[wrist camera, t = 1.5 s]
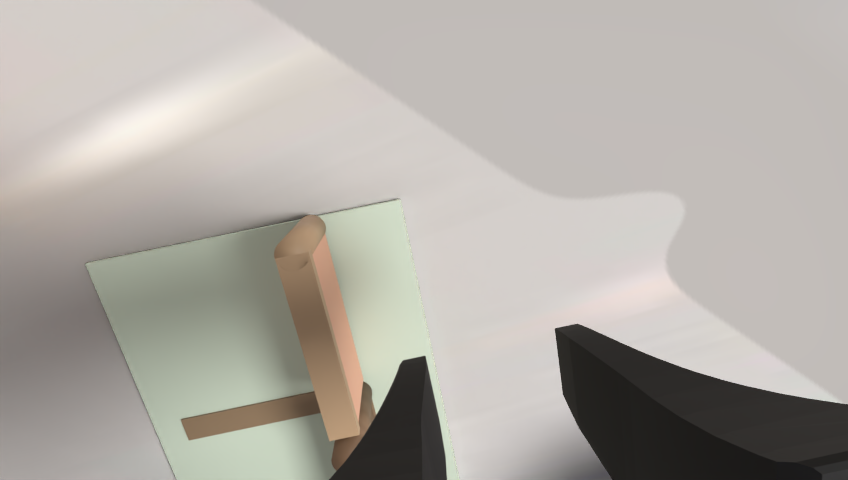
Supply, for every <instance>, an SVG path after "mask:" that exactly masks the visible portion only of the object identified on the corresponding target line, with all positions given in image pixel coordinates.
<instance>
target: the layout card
mask: <svg viewBox="0 0 848 480" xmlns="http://www.w3.org/2000/svg"><path fill="white" fill-rule="evenodd" d="M317 216H318V217H320V218H321V219H322V220H323V221H324V223H325V225H326V232H325V234H326V238H327V242H328V246H329V250H330V253H331V257H332V261H333V265H334V269H335V272H336V276H337V280H338V284H339V288H340V291H341V295H342V299H343V303H344V307H345V310H346V314H347V318H348V322H349V326H350V329H351V333H352V337H353V341H354V345H355V348H356V352H357V356H358V360H359V364H360V367H361V371H362V375H363V381H364V382H366V383H367V384H369V385H370V387H371V389H372V404H371V406H372V410H373V414H374V417H375V416H376V415H377V413H378V411H379V409H380V407H381V406H382V404H383V402H384V400H385V398H386V396H387V394H388V392H389V390H390V387H391V385H392V383H393V381H394V378H395V376H396V374H397V371H398V368H399V365H400V364H401V362H402V361H403V360H407V359H411V358H416V357H421V356H426V360H427V365H428V370H429V374H430V379H431V384H432V388H433V393H434V397H435V402H436V407H437V411H438V416H439V421H440V426H441V432H442V438H443V444H444V450H445V456H446V471H447V480H459V475H458V471H457V466H456V461H455V456H454V452H453V447H452V442H451V437H450V433H449V428H448V423H447V418H446V414H445V409H444V404H443V399H442V395H441V390H440V385H439V380H438V376H437V371H436V366H435V361H434V357H433V352H432V347H431V342H430V338H429V333H428V328H427V323H426V319H425V314H424V309H423V304H422V300H421V295H420V290H419V285H418V281H417V276H416V271H415V266H414V262H413V257H412V252H411V248H410V243H409V238H408V233H407V229H406V224H405V219H404V214H403V210H402V205H401V200H400V199H396V200H391V201H386V202H381V203H376V204H372V205H367V206H362V207H357V208H352V209H347V210H342V211H337V212H332V213H327V214H322V215H317ZM300 220H301V219H298V220H293V221H288V222H283V223H278V224H273V225H268V226H263V227H259V228H254V229H249V230H244V231H239V232H234V233H229V234H224V235H219V236H214V237H209V238H205V239H200V240H195V241H190V242H185V243H180V244H175V245H170V246H165V247H160V248H155V249H151V250H146V251H141V252H136V253H131V254H126V255H121V256H116V257H111V258H106V259H101V260H96V261H92V262H88V263H86V264H85V265H86V268H87V270H88V272H89V275H90V277H91V279H92V282H93V284H94V286H95V289H96V291H97V294H98V296H99V298H100V301H101V303H102V305H103V308H104V310H105V312H106V315H107V317H108V320H109V322H110V324H111V327H112V329H113V331H114V334H115V336H116V338H117V341H118V343H119V345H120V348H121V350H122V353H123V355H124V357H125V360H126V362H127V364H128V367H129V369H130V371H131V374H132V376H133V378H134V381H135V383H136V386H137V388H138V390H139V393H140V395H141V397H142V400H143V402H144V404H145V407H146V409H147V411H148V414H149V416H150V419H151V421H152V423H153V426H154V428H155V430H156V433H157V435H158V437H159V440H160V442H161V444H162V447H163V449H164V452H165V454H166V456H167V459H168V461H169V463H170V466H171V468H172V470H173V473H174V475H175V477H176V480H329V479H330V478H331V477H332V476H333V474H334V473H335V472H336V470H335V469H334V467H333V466H332V462H331V459H332V453H333V448H334V442H335V440H333V441H329V438H328V435H327V431H326V428H325V425H324V421H323V418H322V415H321V411H320V408H319V405H318V401H317V398H316V395H315V391H314V388H313V385H312V381H311V378H310V375H309V371H308V368H307V365H306V361H305V358H304V355H303V351H302V348H301V345H300V341H299V338H298V335H297V331H296V328H295V325H294V321H293V318H292V315H291V311H290V308H289V305H288V301H287V298H286V295H285V291H284V288H283V285H282V281H281V278H280V275H279V271H278V268H277V265H276V261H275V258H274V251H275V248H276V246H277V245H278V244H279V242H280V241H281V240H282V239H283V238H284V237H285V236H286V235H287V234H288V233H289V232H290V231H291V230H292V228H293V227H294V226H295V225H296V224H297V223H298V222H299V221H300Z"/></svg>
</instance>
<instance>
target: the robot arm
mask: <svg viewBox="0 0 848 480" xmlns="http://www.w3.org/2000/svg"><path fill="white" fill-rule="evenodd" d="M555 333H556V341H557V349H558V357H559V365H560V373H561V381H562V389H563V395H564V397H565V400H566V402H567V404H568V406H569V408H570V410H571V412H572V414H573V416H574V418H575V421H576V423H577V425H578V427H579V428H580V430H581V432H582V433H583V435H584V436H585V438H586V439H587V441H588V443H589V444H590V446H591V447H592V449H593V450H594V452H595V453H596V455H597V456H598V458H599V459H600V461H601V463H602V464H603V466H604V467H605V469H606V470H607V472H608V473H609V475H610V476H611V478H612V479H613V480H848V404H840V403H834V402H827V401H821V400H814V399H807V398H802V397H796V396H791V395H785V394H780V393H775V392H770V391H766V390H761V389H757V388H752V387H748V386H743V385H740V384H736V383H732V382H728V381H724V380H721V379H717V378H714V377H711V376H707V375H704V374H700V373H697V372H694V371H691V370H688V369H685V368H682V367H679V366H676V365H674V364H671V363H668V362H666V361H663V360H660V359H658V358H655V357H653V356H650V355H648V354H645V353H643V352H641V351H638V350H636V349H634V348H631V347H629V346H627V345H624V344H622V343H620V342H618V341H616V340H613V339H611V338H609V337H607V336H605V335H602V334H600V333H598V332H596V331H594V330H591V329H589V328H587V327H584V326H582V325H579V324H574V325H570V326H565V327H560V328H555ZM329 480H447V471H446V456H445V450H444V444H443V438H442V432H441V426H440V421H439V416H438V411H437V407H436V402H435V397H434V393H433V388H432V384H431V379H430V374H429V370H428V365H427V360H426V356H421V357H416V358H411V359H407V360H403V361H402V362H401V364H400V365H399V368H398V371H397V374H396V376H395V378H394V381H393V383H392V385H391V387H390V390H389V392H388V394H387V396H386V398H385V400H384V402H383V404H382V406H381V407H380V409H379V411H378V413H377V415H376V416H375V418H374V420H373V421H372V423H371V425H370V426H369V428H368V430H367V431H366V433H365V434H364V436H363V437H362V439H361V440H360V442H359V443H358V445H357V446H356V448H355V449H354V450H353V452H352V453H351V454H350V456H349V457H348V458H347V460H346V461H345V462H344V463H343V464H342V466H341V467H340V468H339V469H338V470H337V471H336V472H335V473H334V474H333V476H332V477H331V478H330V479H329Z"/></svg>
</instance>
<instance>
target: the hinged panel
mask: <svg viewBox="0 0 848 480" xmlns="http://www.w3.org/2000/svg"><path fill="white" fill-rule="evenodd" d="M325 232H326V225H325V223H324V221H323V220H322V219H321V218H320V217H318V216H316V215H307V216H305V217H303V218H302V219H301V220H300V221H299V222H298V223H297V224H296V225H295V226H294V227H293V228H292V230H291V231H290V232H289V233H288V234H287V235H286V236H285V237H284V238H283V239H282V240H281V241H280V242H279V244H278V245H277V246H276V248H275V251H274V258H275V261H276V265H277V268H278V271H279V275H280V278H281V281H282V285H283V288H284V291H285V295H286V298H287V301H288V305H289V308H290V311H291V315H292V318H293V321H294V325H295V328H296V331H297V335H298V338H299V341H300V345H301V348H302V351H303V355H304V358H305V361H306V365H307V368H308V371H309V375H310V378H311V381H312V385H313V388H314V391H315V395H316V398H317V401H318V405H319V408H320V411H321V415H322V418H323V421H324V425H325V428H326V431H327V435H328V438H329V441H333V440H338V439H343V438H348V437H352V436H357V435H359V434H360V426H359V413H360V404H361V396H362V387H363V375H362V371H361V367H360V364H359V360H358V356H357V352H356V348H355V345H354V341H353V337H352V333H351V329H350V326H349V322H348V318H347V314H346V310H345V307H344V303H343V299H342V295H341V291H340V288H339V284H338V280H337V276H336V272H335V269H334V265H333V261H332V257H331V253H330V250H329V246H328V242H327V238H326V234H325Z"/></svg>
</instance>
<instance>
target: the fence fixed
mask: <svg viewBox="0 0 848 480" xmlns="http://www.w3.org/2000/svg"><path fill="white" fill-rule="evenodd" d="M371 404H372V389H371V387H370V385H369V384H367V383H366V382H364V381H363V387H362V396H361V404H360V413H359V426H360V434H359V435H357V436H352V437H348V438H343V439H338V440H335V442H334V448H333V453H332V459H331V462H332V466H333V467H334V469H335V470H336V471H337V470H338V469H339V468H340V467H341V466H342V464H343V463H344V462H345V461H346V460H347V458H348V457H349V456H350V454H351V453H352V452H353V450H354V449H355V448H356V446H357V445H358V443H359V442H360V440H361V439H362V437H363V436H364V434H365V433H366V431H367V430H368V428H369V426H370V425H371V423H372V421H373V420H374V418H375V417H374V414H373V410H372V406H371Z"/></svg>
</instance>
